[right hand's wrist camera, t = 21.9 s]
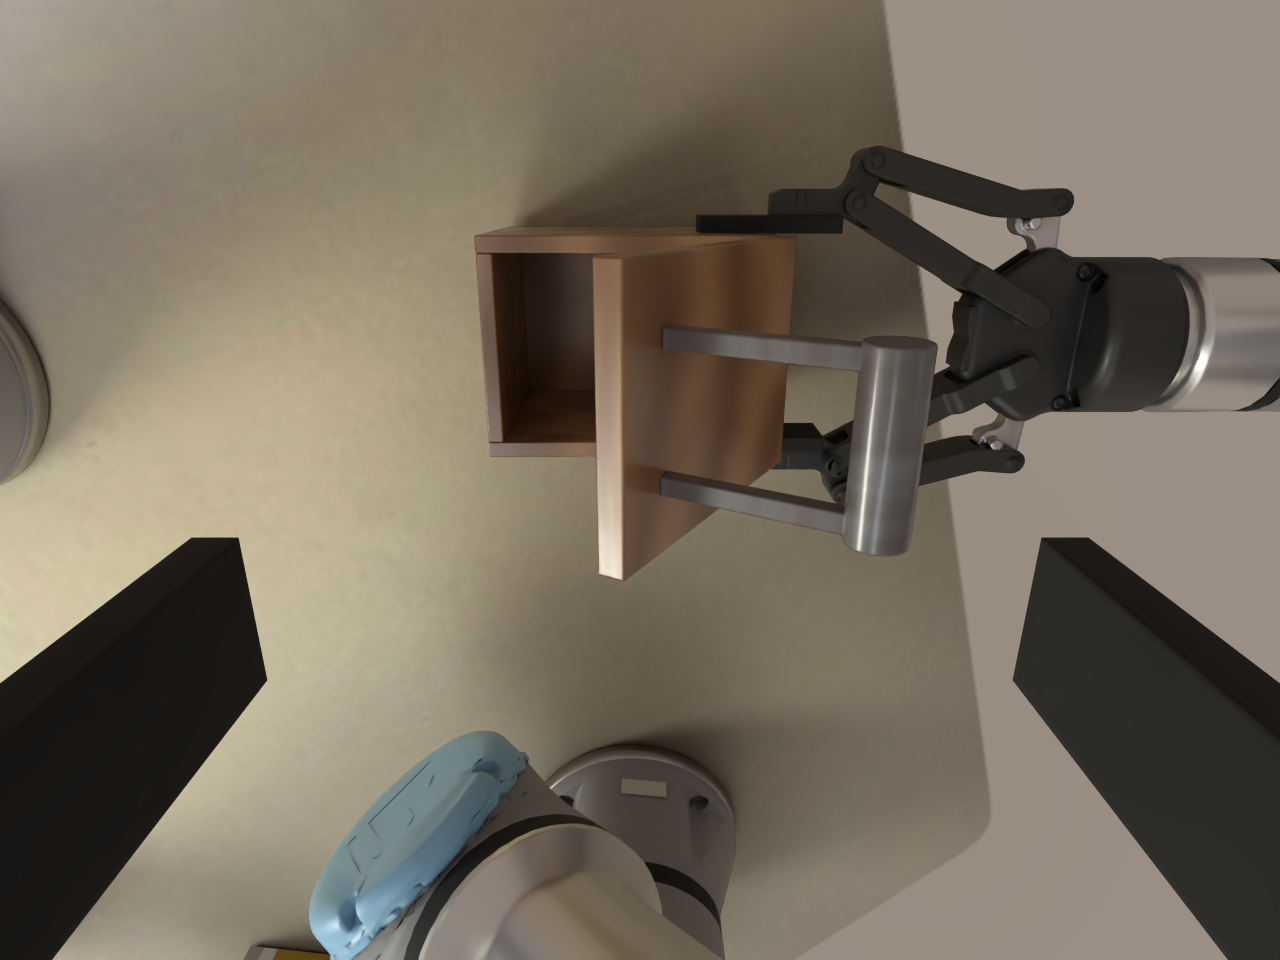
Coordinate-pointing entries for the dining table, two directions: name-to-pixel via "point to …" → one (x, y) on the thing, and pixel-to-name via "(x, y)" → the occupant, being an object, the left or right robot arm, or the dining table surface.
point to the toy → (282, 954)
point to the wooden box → (551, 329)
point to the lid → (736, 402)
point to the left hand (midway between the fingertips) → (695, 335)
